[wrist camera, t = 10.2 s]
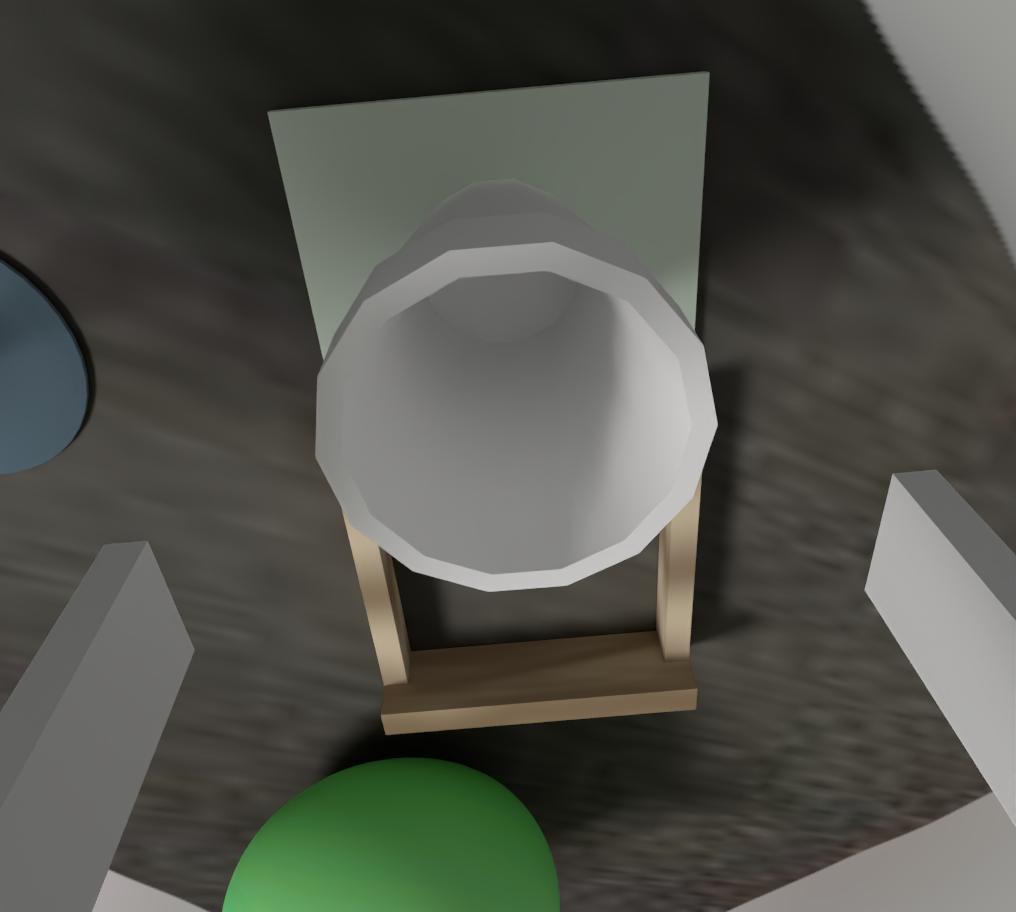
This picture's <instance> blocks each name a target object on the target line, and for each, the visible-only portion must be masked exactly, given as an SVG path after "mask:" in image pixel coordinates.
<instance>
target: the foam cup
mask: <svg viewBox="0 0 1016 912" xmlns="http://www.w3.org/2000/svg"><path fill="white" fill-rule="evenodd" d="M717 426H718V423H717V417H716V411H715V406H714V400H713V395H712V389H711V384H710V378H709V373H708V367H707V362H706V356H705V351H704V345H703V344H702V342H701V341H700V339H699V337H698V336H697V334H696V333H695V331H694V329H693V328H692V326H691V324H690V323H689V321H688V320H687V318H686V316H685V315H684V313H683V312H682V310H681V308H680V307H679V306H678V304H677V303H676V302H675V301H674V300H673V298H672V297H671V296H670V295H669V294H668V293H667V291H666V290H665V289H664V288H663V287H662V285H661V284H660V283H659V282H658V281H657V280H656V278H655V277H654V276H653V275H652V274H651V272H650V271H649V270H648V269H647V268H646V267H645V265H644V264H643V263H642V262H641V261H640V260H639V258H638V257H637V256H636V255H635V254H634V252H633V251H632V250H631V249H630V248H629V247H628V245H626V244H624V243H621V242H619V241H616V240H614V239H611V238H609V237H606V236H604V235H601V234H600V233H598V232H597V231H596V230H595V229H594V228H592V227H591V226H590V225H589V224H588V223H586V222H585V221H584V220H583V219H582V218H580V217H579V216H578V215H577V214H575V213H574V212H573V211H572V210H571V209H569V208H568V207H567V206H566V205H565V204H563V203H562V202H561V201H560V200H558V199H557V198H556V197H555V196H554V195H552V194H550V193H549V192H546V191H544V190H541V189H539V188H536V187H534V186H531V185H529V184H527V183H524V182H522V181H519V180H517V179H514V178H511V179H498V180H486V181H474V182H473V183H471V184H469V185H468V186H466V187H464V188H463V189H461V190H459V191H458V192H456V193H455V194H453V195H451V196H450V197H448V198H446V199H445V200H443V201H441V202H440V204H438V205H437V206H436V208H435V209H434V210H433V211H432V212H431V214H430V215H429V216H428V217H427V218H426V219H425V221H424V222H423V223H422V224H421V225H420V227H419V228H418V229H417V230H416V231H415V233H414V234H413V235H412V236H411V237H410V239H409V240H408V241H407V242H406V243H405V245H404V246H403V247H402V248H401V249H400V251H399V252H397V253H396V254H394V255H392V256H391V257H389V258H387V259H386V260H384V261H382V262H381V263H379V264H377V265H376V266H375V268H374V269H373V271H372V273H371V274H370V276H369V278H368V279H367V281H366V283H365V284H364V286H363V288H362V289H361V291H360V293H359V294H358V296H357V298H356V299H355V301H354V302H353V304H352V306H351V307H350V309H349V311H348V312H347V314H346V316H345V317H344V319H343V321H342V322H341V324H340V326H339V327H338V329H337V331H336V332H335V334H334V336H333V338H332V341H331V343H330V346H329V349H328V351H327V354H326V356H325V359H324V361H323V364H322V366H321V369H320V372H319V374H318V377H317V411H316V452H315V457H316V459H317V461H318V463H319V465H320V467H321V469H322V471H323V473H324V475H325V476H326V478H327V480H328V482H329V484H330V486H331V488H332V490H333V492H334V494H335V495H336V497H337V499H338V501H339V503H340V505H341V507H342V509H343V511H344V513H345V515H346V516H347V518H348V520H349V522H350V524H351V525H352V526H353V527H354V528H356V529H357V530H358V531H360V532H361V533H362V534H364V535H365V536H366V537H368V538H369V539H370V540H372V541H373V542H374V543H376V544H377V545H378V546H380V547H381V548H382V549H384V550H385V551H386V552H388V553H389V554H390V555H392V556H393V557H394V558H396V559H397V560H398V561H400V562H401V563H402V564H404V565H405V566H406V567H408V568H409V569H410V570H412V571H413V572H417V573H421V574H424V575H428V576H432V577H435V578H439V579H443V580H447V581H450V582H454V583H458V584H461V585H465V586H469V587H472V588H476V589H480V590H483V591H487V592H492V591H505V590H518V589H530V588H543V587H556V586H567V585H569V584H572V583H574V582H576V581H578V580H581V579H583V578H585V577H587V576H589V575H592V574H594V573H596V572H598V571H601V570H603V569H605V568H607V567H610V566H612V565H614V564H616V563H618V562H621V561H623V560H625V559H627V558H630V557H632V556H634V555H636V554H638V553H640V552H641V551H642V550H643V549H644V547H645V546H646V545H647V544H648V543H649V542H650V541H651V540H652V539H653V538H654V537H655V536H656V535H657V534H658V533H659V532H660V531H661V530H662V529H663V528H664V527H665V526H666V525H667V524H668V523H669V522H670V521H671V520H672V519H673V518H674V517H675V516H676V515H677V514H678V513H679V512H680V510H681V509H682V508H683V507H684V506H685V505H686V504H687V503H688V502H689V501H690V500H691V499H692V498H693V496H694V493H695V490H696V487H697V484H698V481H699V478H700V475H701V473H702V470H703V467H704V464H705V461H706V458H707V455H708V452H709V449H710V446H711V443H712V441H713V438H714V435H715V432H716V429H717Z"/></svg>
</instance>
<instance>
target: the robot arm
mask: <svg viewBox="0 0 1016 912" xmlns="http://www.w3.org/2000/svg"><path fill="white" fill-rule="evenodd" d="M865 591H866V593H867V594H868V596H869V598H870V599H871V601H872V602H873V604H874V605H875V607H876V609H877V610H878V612H879V613H880V615H881V616H882V618H883V620H884V621H885V623H886V624H887V626H888V627H889V629H890V631H891V632H892V634H893V635H894V637H895V638H896V640H897V642H898V643H899V645H900V646H901V648H902V649H903V651H904V653H905V654H906V656H907V657H908V659H909V660H910V662H911V664H912V665H913V667H914V668H915V670H916V671H917V673H918V675H919V676H920V678H921V679H922V681H923V682H924V684H925V686H926V687H927V689H928V690H929V692H930V693H931V695H932V697H933V698H934V700H935V701H936V703H937V704H938V706H939V707H940V709H941V711H942V712H943V714H944V715H945V717H946V718H947V720H948V722H949V723H950V725H951V726H952V728H953V729H954V731H955V733H956V734H957V736H958V737H959V739H960V740H961V742H962V744H963V745H964V747H965V748H966V750H967V751H968V753H969V755H970V756H971V758H972V759H973V761H974V762H975V764H976V766H977V767H978V769H979V770H980V772H981V773H982V775H983V777H984V778H985V780H986V781H987V783H988V784H989V786H990V788H991V789H992V791H993V792H994V794H995V795H996V797H997V798H998V800H999V801H1000V803H1001V805H1002V806H1003V808H1004V809H1005V811H1006V813H1007V814H1008V816H1009V817H1010V819H1011V820H1012V822H1013V824H1014V825H1015V827H1016V555H1015V554H1014V553H1013V552H1012V551H1011V550H1010V549H1009V548H1008V546H1007V545H1006V544H1005V543H1004V542H1003V541H1002V540H1001V539H1000V538H999V537H998V536H997V535H996V534H995V532H994V531H993V530H992V529H991V528H990V527H989V526H988V525H987V524H986V523H985V522H984V521H983V520H982V518H981V517H980V516H979V515H978V514H977V513H976V512H975V511H974V510H973V509H972V508H971V507H970V506H969V504H968V503H967V502H966V501H965V500H964V499H963V498H962V497H961V496H960V495H959V494H958V493H957V492H956V490H955V489H954V488H953V487H952V486H951V485H950V484H949V483H948V482H947V481H946V480H945V479H944V478H943V476H942V475H941V474H940V473H939V472H938V471H937V470H928V471H917V472H906V473H895V474H893V475H892V479H891V483H890V487H889V491H888V495H887V499H886V504H885V508H884V512H883V516H882V520H881V524H880V529H879V533H878V537H877V541H876V545H875V549H874V553H873V558H872V562H871V566H870V570H869V574H868V578H867V583H866V587H865ZM193 653H194V648H193V645H192V643H191V641H190V638H189V636H188V634H187V631H186V629H185V627H184V624H183V622H182V620H181V617H180V615H179V613H178V610H177V608H176V606H175V603H174V601H173V599H172V596H171V594H170V592H169V589H168V587H167V585H166V582H165V580H164V578H163V575H162V573H161V571H160V568H159V566H158V564H157V561H156V559H155V557H154V555H153V552H152V550H151V548H150V545H149V543H148V541H138V542H127V543H116V544H105V545H104V546H103V547H102V549H101V550H100V552H99V554H98V555H97V557H96V559H95V560H94V562H93V563H92V565H91V567H90V568H89V570H88V571H87V573H86V575H85V576H84V578H83V580H82V581H81V583H80V584H79V586H78V588H77V589H76V591H75V592H74V594H73V596H72V597H71V599H70V600H69V602H68V604H67V605H66V607H65V609H64V610H63V612H62V613H61V615H60V617H59V618H58V620H57V621H56V623H55V625H54V626H53V628H52V630H51V631H50V633H49V634H48V636H47V638H46V639H45V641H44V642H43V644H42V646H41V647H40V649H39V651H38V652H37V654H36V655H35V657H34V659H33V660H32V662H31V663H30V665H29V667H28V668H27V670H26V671H25V673H24V675H23V676H22V678H21V680H20V681H19V683H18V684H17V686H16V688H15V689H14V691H13V692H12V694H11V696H10V697H9V699H8V701H7V702H6V704H5V705H4V707H3V709H2V710H1V712H0V912H92V910H93V907H94V904H95V902H96V900H97V897H98V895H99V892H100V889H101V887H102V884H103V882H104V879H105V877H106V874H107V872H108V869H109V867H110V864H111V862H112V859H113V856H114V854H115V851H116V849H117V846H118V844H119V841H120V839H121V836H122V834H123V831H124V828H125V826H126V823H127V821H128V818H129V816H130V813H131V811H132V808H133V806H134V803H135V800H136V798H137V795H138V793H139V790H140V788H141V785H142V783H143V780H144V778H145V775H146V772H147V770H148V767H149V765H150V762H151V760H152V757H153V755H154V752H155V750H156V747H157V744H158V742H159V739H160V737H161V734H162V732H163V729H164V727H165V724H166V722H167V719H168V717H169V714H170V711H171V709H172V706H173V704H174V701H175V699H176V696H177V694H178V691H179V689H180V686H181V683H182V681H183V678H184V676H185V673H186V671H187V668H188V666H189V663H190V661H191V658H192V655H193Z"/></svg>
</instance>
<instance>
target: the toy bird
mask: <svg viewBox="0 0 1016 912" xmlns="http://www.w3.org/2000/svg"><path fill="white" fill-rule="evenodd" d="M222 912H560V896H559V885H558V878H557V873H556V868H555V864H554V861H553V858H552V854H551V852H550V849H549V846H548V844H547V841H546V839H545V837H544V835H543V833H542V831H541V829H540V827H539V826H538V824H537V822H536V821H535V819H534V818H533V816H532V815H531V813H530V812H529V811H528V809H527V808H526V807H525V806H524V804H523V803H522V802H521V801H520V800H519V799H518V798H517V797H516V796H515V795H514V794H513V793H512V792H511V791H510V790H508V789H507V788H506V787H505V786H503V785H502V784H501V783H499V782H498V781H496V780H495V779H493V778H491V777H490V776H488V775H486V774H484V773H482V772H480V771H478V770H475V769H473V768H470V767H468V766H465V765H461V764H458V763H454V762H450V761H445V760H439V759H431V758H394V759H385V760H379V761H373V762H369V763H364V764H361V765H357V766H354V767H351V768H348V769H345V770H342V771H340V772H337V773H335V774H332V775H330V776H328V777H326V778H324V779H322V780H320V781H318V782H317V783H315V784H313V785H311V786H310V787H308V788H307V789H305V790H303V791H302V792H300V793H299V794H298V795H296V796H295V797H294V798H292V799H291V800H290V801H288V802H287V803H286V804H285V805H284V806H282V807H281V808H280V809H279V810H278V811H277V812H276V813H275V814H274V815H273V816H272V817H271V818H270V819H269V820H268V821H267V822H266V823H265V824H264V825H263V827H262V828H261V829H260V830H259V832H258V833H257V834H256V835H255V837H254V838H253V840H252V841H251V842H250V844H249V845H248V847H247V849H246V850H245V852H244V854H243V855H242V857H241V859H240V861H239V863H238V865H237V867H236V869H235V871H234V874H233V876H232V878H231V881H230V884H229V887H228V890H227V893H226V897H225V901H224V905H223V910H222Z"/></svg>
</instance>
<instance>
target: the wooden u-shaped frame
mask: <svg viewBox="0 0 1016 912" xmlns="http://www.w3.org/2000/svg"><path fill="white" fill-rule="evenodd" d="M701 479H702V473H701V475H700V478H699V481H698V484H697V487H696V490H695V493H694V496H693V498H692V499H691V500H690V501H689V502H688V503H687V504H686V505H685V506H684V507H683V508H682V509H681V510H680V512H679V513H678V514H677V515H676V516H675V517H674V518H673V519H672V520H671V521H670V522H669V523H668V524H667V525H666V526H665V527H664V528H663V529H662V530H661V531H660V537H659V564H658V591H657V618H656V631H647V632H635V633H623V634H611V635H599V636H587V637H575V638H563V639H552V640H540V641H528V642H516V643H504V644H492V645H480V646H468V647H456V648H444V649H432V650H421V651H411V649H410V644H409V640H408V635H407V630H406V625H405V620H404V615H403V610H402V605H401V600H400V596H399V591H398V586H397V581H396V576H395V571H394V566H393V561H392V556H391V555H390V554H389V553H388V552H386V551H385V550H384V549H382V548H381V547H380V546H378V545H377V544H376V543H374V542H373V541H372V540H370V539H369V538H368V537H366V536H365V535H364V534H362V533H361V532H360V531H358V530H357V529H356V528H354V527H353V526H352V525H351V524H350V522H349V520H348V518H347V516H346V515H345V513H344V511H343V509H342V511H343V515H344V520H345V524H346V528H347V532H348V536H349V541H350V545H351V549H352V553H353V557H354V561H355V566H356V570H357V574H358V578H359V582H360V587H361V591H362V595H363V599H364V603H365V607H366V612H367V616H368V620H369V624H370V628H371V633H372V637H373V641H374V645H375V649H376V653H377V658H378V662H379V666H380V670H381V674H382V678H383V683H384V692H383V700H382V708H381V719H382V723H383V727H384V731H385V735H393V734H405V733H417V732H429V731H441V730H453V729H465V728H477V727H489V726H501V725H513V724H525V723H537V722H549V721H561V720H573V719H586V718H598V717H610V716H622V715H634V714H646V713H658V712H670V711H682V710H694V709H696V702H697V690H698V688H697V685H696V682H695V679H694V676H693V673H692V669H691V666H690V663H689V649H690V635H691V620H692V606H693V592H694V578H695V564H696V550H697V536H698V522H699V507H700V493H701Z"/></svg>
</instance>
